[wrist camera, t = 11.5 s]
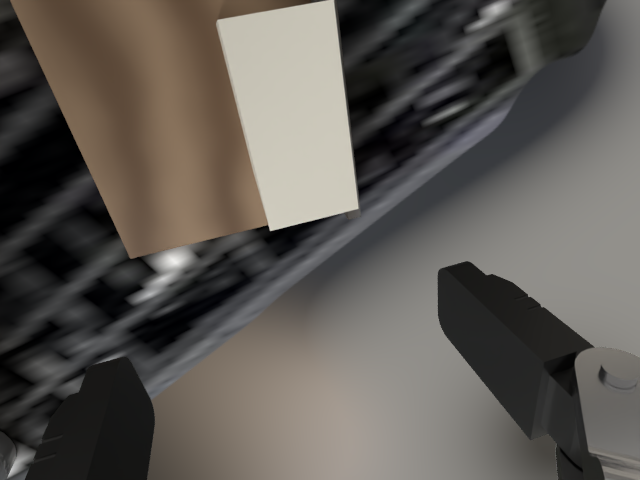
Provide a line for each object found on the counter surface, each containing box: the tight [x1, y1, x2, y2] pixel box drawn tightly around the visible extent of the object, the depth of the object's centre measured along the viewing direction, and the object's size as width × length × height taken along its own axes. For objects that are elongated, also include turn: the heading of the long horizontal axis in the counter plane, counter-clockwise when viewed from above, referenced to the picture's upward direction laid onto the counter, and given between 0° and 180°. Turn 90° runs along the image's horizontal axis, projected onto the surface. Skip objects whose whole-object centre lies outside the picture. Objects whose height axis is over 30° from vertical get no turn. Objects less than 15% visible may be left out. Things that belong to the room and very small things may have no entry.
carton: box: [216, 0, 359, 231], centre depth 23 cm, size 5×10×10 cm, turn 9°
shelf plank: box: [10, 0, 361, 259], centre depth 27 cm, size 18×19×4 cm
